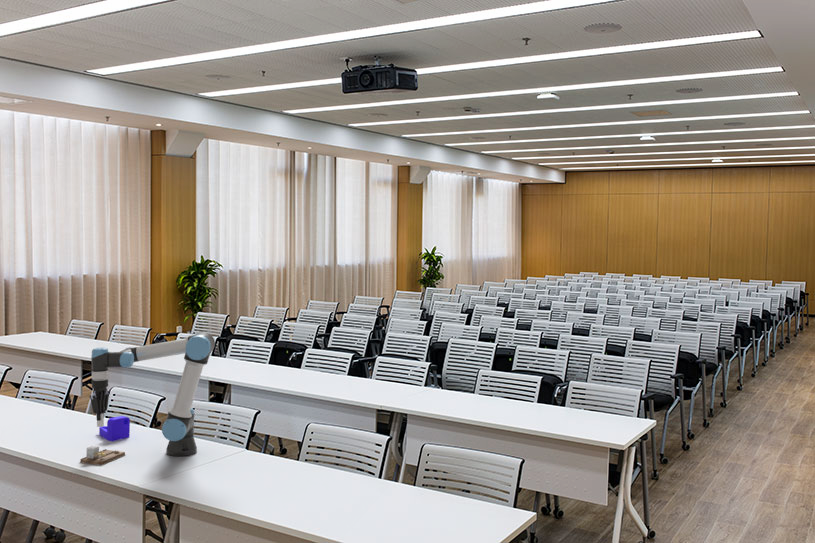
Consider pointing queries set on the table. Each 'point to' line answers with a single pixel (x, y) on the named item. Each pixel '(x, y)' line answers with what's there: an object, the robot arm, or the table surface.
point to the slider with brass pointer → (94, 452)
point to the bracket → (116, 429)
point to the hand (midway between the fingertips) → (100, 426)
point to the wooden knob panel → (103, 457)
